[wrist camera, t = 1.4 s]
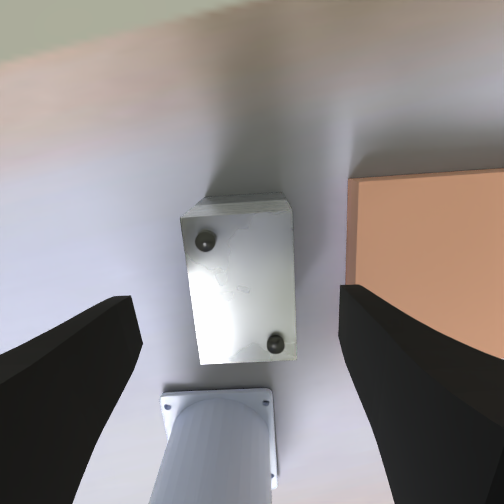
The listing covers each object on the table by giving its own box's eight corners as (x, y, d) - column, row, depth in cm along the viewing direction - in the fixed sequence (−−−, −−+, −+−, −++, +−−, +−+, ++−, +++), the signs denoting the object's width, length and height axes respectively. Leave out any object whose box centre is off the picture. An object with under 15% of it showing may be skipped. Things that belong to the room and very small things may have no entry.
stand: (528, 337, 20) (555, 356, 18) (343, 345, 21) (352, 365, 19) (568, 163, 17) (608, 165, 15) (348, 178, 17) (358, 181, 16)
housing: (286, 300, 20) (297, 364, 14) (217, 304, 20) (199, 368, 14) (281, 191, 18) (293, 211, 12) (204, 197, 18) (177, 219, 12)
